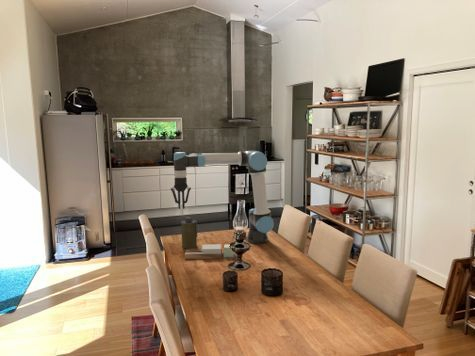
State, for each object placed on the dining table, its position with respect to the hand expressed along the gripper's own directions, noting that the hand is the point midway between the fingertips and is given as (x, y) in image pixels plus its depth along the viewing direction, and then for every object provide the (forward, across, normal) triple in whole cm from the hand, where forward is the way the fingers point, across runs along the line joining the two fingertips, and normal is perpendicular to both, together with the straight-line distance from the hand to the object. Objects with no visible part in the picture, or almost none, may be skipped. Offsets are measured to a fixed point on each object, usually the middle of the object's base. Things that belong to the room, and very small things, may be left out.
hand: (181, 213), depth 242 cm
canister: (+26, +3, +14) cm, 30 cm away
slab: (+23, +19, -6) cm, 30 cm away
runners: (+26, +14, -6) cm, 30 cm away
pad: (+26, +30, -6) cm, 40 cm away
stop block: (+26, +30, -6) cm, 40 cm away
